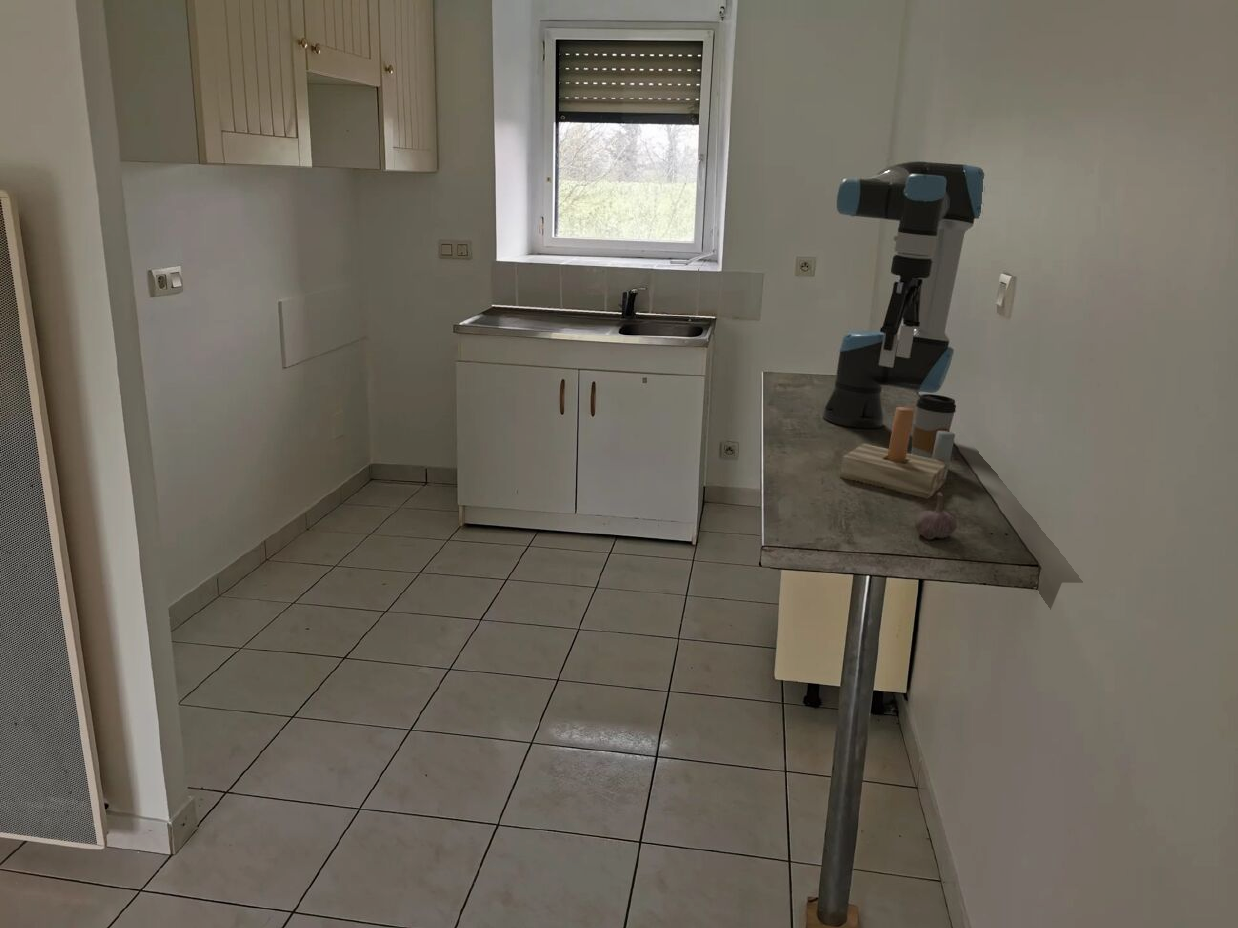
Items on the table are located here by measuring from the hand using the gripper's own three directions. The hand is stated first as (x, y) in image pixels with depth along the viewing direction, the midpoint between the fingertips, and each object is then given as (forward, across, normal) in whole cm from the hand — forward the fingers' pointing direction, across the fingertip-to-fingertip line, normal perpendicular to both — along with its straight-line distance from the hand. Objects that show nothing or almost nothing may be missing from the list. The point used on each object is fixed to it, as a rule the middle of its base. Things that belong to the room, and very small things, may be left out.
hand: (894, 361), depth 196 cm
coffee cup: (+24, -15, +7) cm, 29 cm away
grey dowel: (+24, -5, +12) cm, 27 cm away
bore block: (+24, +4, +5) cm, 24 cm away
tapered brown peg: (+22, +4, +5) cm, 23 cm away
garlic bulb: (+23, +32, +19) cm, 44 cm away
